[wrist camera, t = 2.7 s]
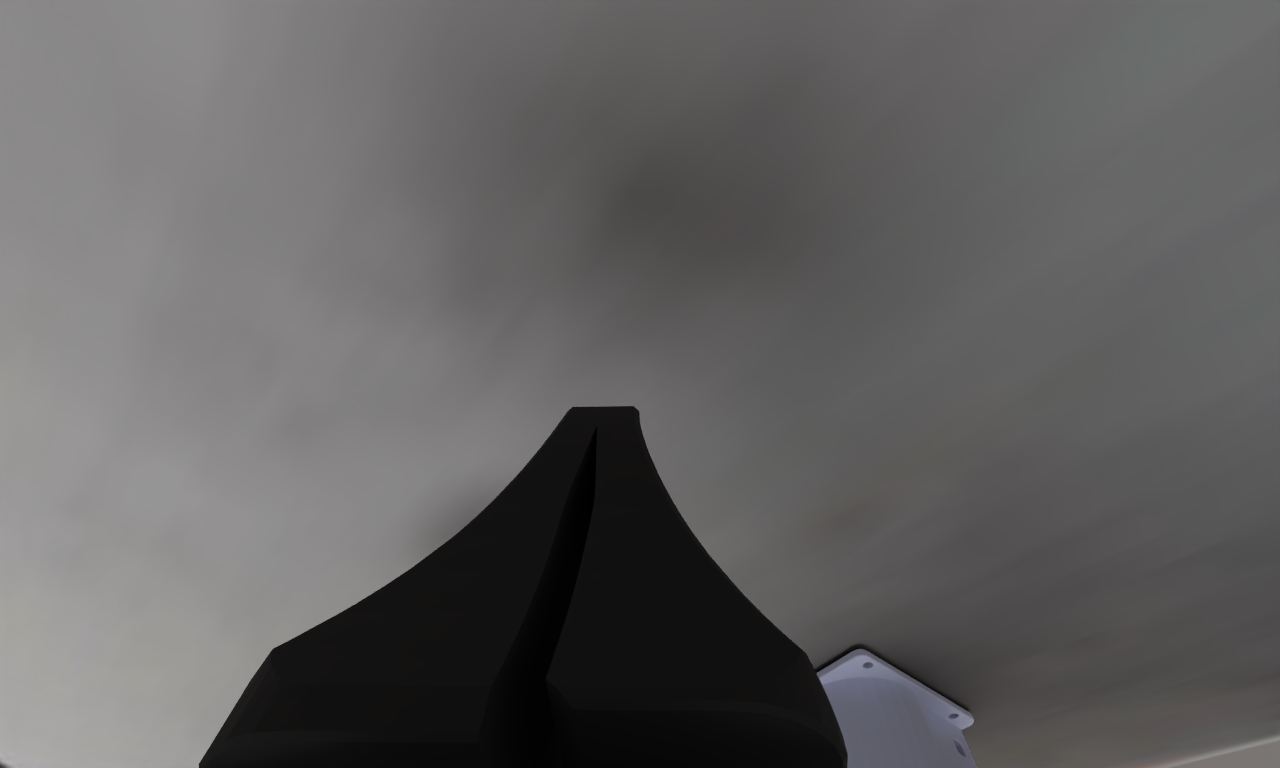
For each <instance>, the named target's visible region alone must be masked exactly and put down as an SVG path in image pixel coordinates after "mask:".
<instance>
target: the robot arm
mask: <svg viewBox="0 0 1280 768" xmlns="http://www.w3.org/2000/svg"><path fill="white" fill-rule="evenodd" d="M973 723H974V719H973V717H972V714H971V713H970V712H968V711H966V710H965V709H963V708H961V707H960V706H958V705H956V704H955V703H953V702H951V701H950V700H948V699H946V698H945V697H943V696H941V695H940V694H938V693H936V692H935V691H933V690H931V689H930V688H928V687H926V686H925V685H923V684H921V683H920V682H918V681H916V680H915V679H913V678H911V677H910V676H908V675H907V674H905V673H903V672H902V671H900V670H898V669H897V668H895V667H893V666H892V665H890V664H888V663H887V662H885V661H883V660H882V659H880V658H878V657H877V656H875V655H873V654H872V653H870V652H868V651H867V650H864V649H856V650H854V651H852V652H850V653H849V654H847V655H845V656H844V657H842V658H840V659H839V660H837V661H836V662H834V663H832V664H831V665H829V666H827V667H826V668H824V669H822V670H821V671H819V672H818V673H816V672H815V670H814V668H813V666H812V664H811V662H810V660H809V658H808V656H807V654H806V653H805V652H804V651H803V650H802V649H800V648H799V647H798V646H797V645H796V644H795V643H794V642H792V641H791V640H790V639H789V638H788V637H787V636H786V635H784V634H783V633H782V632H781V631H780V630H779V629H778V628H777V627H776V626H775V625H774V624H773V623H772V622H771V621H769V620H768V619H767V618H766V617H765V616H764V615H763V614H762V613H761V612H760V611H759V610H758V609H757V608H756V607H755V606H754V605H753V604H752V603H751V602H750V601H749V600H748V599H747V598H746V597H745V596H744V595H743V593H742V592H741V591H740V590H739V589H738V588H737V587H736V586H735V585H734V583H733V582H732V581H731V580H730V579H729V578H728V576H727V575H726V574H725V573H724V572H723V571H722V569H721V568H720V567H719V566H718V565H717V564H716V562H715V561H714V560H713V559H712V558H711V557H710V555H709V554H708V553H707V551H706V550H705V549H704V547H703V546H702V545H701V543H700V542H699V541H698V539H697V538H696V537H695V535H694V534H693V532H692V531H691V529H690V528H689V526H688V525H687V523H686V522H685V521H684V519H683V517H682V516H681V514H680V513H679V511H678V509H677V508H676V506H675V504H674V503H673V501H672V499H671V497H670V495H669V494H668V492H667V490H666V488H665V486H664V485H663V483H662V480H661V478H660V476H659V474H658V472H657V470H656V468H655V465H654V463H653V461H652V459H651V456H650V454H649V452H648V449H647V446H646V443H645V440H644V437H643V434H642V430H641V426H640V418H639V411H638V410H637V409H636V408H635V407H634V406H618V407H572V408H571V409H570V410H569V411H568V412H567V413H566V414H565V416H564V417H563V419H562V420H561V421H560V423H559V424H558V426H557V427H556V428H555V430H554V431H553V432H552V434H551V435H550V436H549V438H548V439H547V440H546V441H545V443H544V444H543V445H542V447H541V448H540V449H539V450H538V451H537V453H536V454H535V455H534V456H533V457H532V459H531V460H530V461H529V462H528V463H527V465H526V466H525V467H524V468H523V469H522V471H521V472H520V473H519V474H518V475H517V476H516V477H515V478H514V479H513V480H512V481H511V482H510V484H509V485H508V486H507V487H506V488H505V489H504V490H503V491H502V492H501V493H500V494H499V495H498V496H497V497H496V498H495V499H494V500H493V501H492V502H491V503H490V504H489V505H488V506H487V507H486V508H485V509H484V510H483V511H482V512H481V513H480V514H479V515H478V516H477V517H476V518H474V519H473V520H472V521H471V522H470V523H469V524H468V525H467V526H465V527H464V528H463V529H462V530H461V531H460V532H459V533H457V534H456V535H455V536H454V537H452V538H451V539H450V540H449V541H447V542H446V543H445V544H443V545H442V546H441V547H439V548H438V549H437V550H435V551H434V552H433V553H431V554H430V555H429V556H427V557H426V558H425V559H423V560H422V561H421V562H419V563H418V564H417V565H415V566H414V567H412V568H411V569H410V570H408V571H407V572H405V573H404V574H402V575H401V576H399V577H398V578H396V579H395V580H393V581H392V582H390V583H389V584H387V585H386V586H384V587H382V588H381V589H379V590H378V591H376V592H374V593H373V594H371V595H370V596H368V597H366V598H365V599H363V600H362V601H360V602H358V603H357V604H355V605H353V606H351V607H350V608H348V609H346V610H345V611H343V612H341V613H339V614H338V615H336V616H334V617H332V618H330V619H328V620H326V621H325V622H323V623H321V624H319V625H317V626H315V627H314V628H312V629H310V630H308V631H306V632H304V633H302V634H301V635H299V636H297V637H295V638H293V639H291V640H290V641H288V642H286V643H284V644H282V645H280V646H278V647H276V648H274V649H273V650H272V651H271V652H270V654H269V655H268V657H267V658H266V659H265V661H264V662H263V664H262V665H261V666H260V668H259V669H258V671H257V672H256V674H255V675H254V676H253V678H252V679H251V681H250V682H249V684H248V686H247V687H246V689H245V690H244V692H243V694H242V695H241V697H240V699H239V700H238V702H237V703H236V705H235V707H234V708H233V710H232V712H231V713H230V715H229V716H228V718H227V720H226V721H225V723H224V725H223V726H222V728H221V729H220V731H219V733H218V734H217V736H216V738H215V739H214V741H213V742H212V744H211V746H210V747H209V749H208V750H207V752H206V754H205V755H204V757H203V759H202V760H201V762H200V763H199V768H977V766H976V763H975V761H974V759H973V756H972V754H971V752H970V750H969V747H968V745H967V743H966V740H965V738H964V736H963V734H962V731H961V730H963V729H965V728H967V727H969V726H971V725H972V724H973Z"/></svg>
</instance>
